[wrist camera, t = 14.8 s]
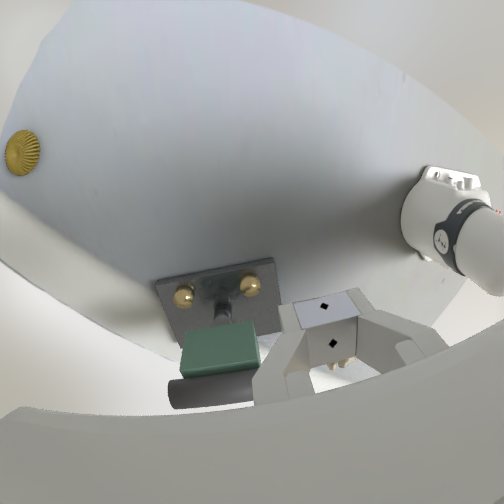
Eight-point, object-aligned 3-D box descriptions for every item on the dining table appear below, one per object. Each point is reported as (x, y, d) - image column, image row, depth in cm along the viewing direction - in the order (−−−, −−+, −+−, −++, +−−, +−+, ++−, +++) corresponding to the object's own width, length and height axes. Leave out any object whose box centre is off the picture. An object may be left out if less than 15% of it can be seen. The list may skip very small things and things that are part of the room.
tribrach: (272, 257, 48) (279, 277, 42) (283, 324, 54) (290, 348, 47) (157, 280, 48) (148, 302, 42) (182, 342, 54) (177, 367, 47)
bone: (346, 367, 58) (341, 390, 49) (322, 354, 60) (313, 375, 51) (367, 337, 56) (366, 358, 47) (342, 323, 58) (337, 341, 49)
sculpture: (0, 135, 31) (30, 126, 32) (13, 134, 35) (43, 125, 36) (2, 180, 34) (32, 174, 35) (15, 175, 38) (45, 170, 39)
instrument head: (261, 309, 43) (273, 380, 30) (267, 339, 45) (280, 408, 33) (177, 324, 43) (164, 394, 30) (189, 352, 45) (181, 420, 33)
